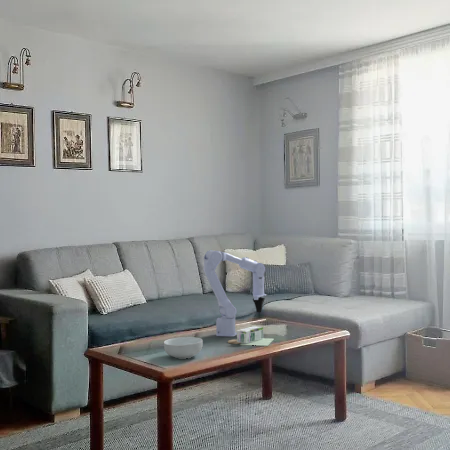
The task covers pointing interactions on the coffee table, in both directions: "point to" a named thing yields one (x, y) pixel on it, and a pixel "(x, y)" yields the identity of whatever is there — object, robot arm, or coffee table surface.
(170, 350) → the cereal bowl
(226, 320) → the robot arm
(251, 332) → the syrup box
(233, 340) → the cork coaster
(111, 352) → the coffee table surface
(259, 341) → the mat
